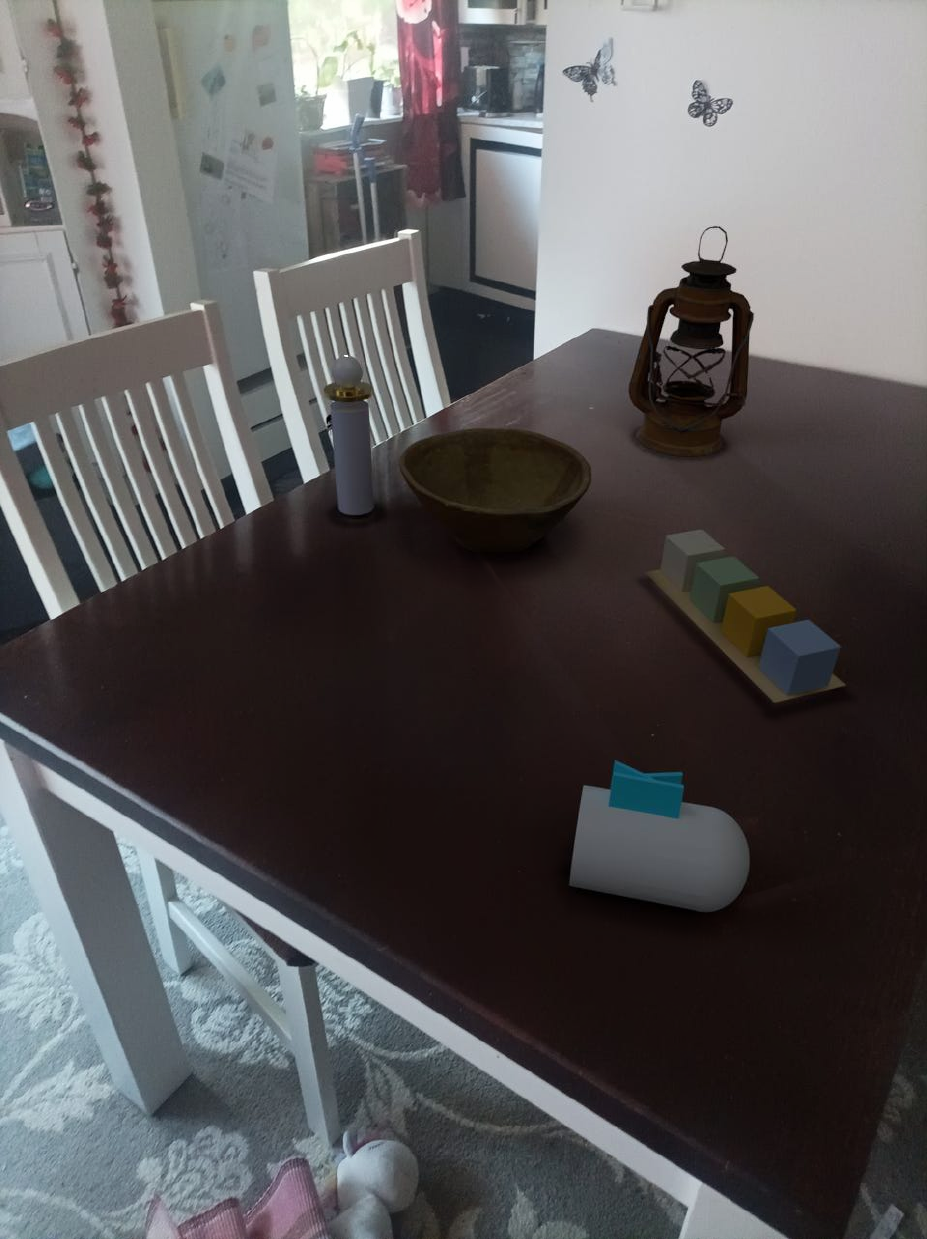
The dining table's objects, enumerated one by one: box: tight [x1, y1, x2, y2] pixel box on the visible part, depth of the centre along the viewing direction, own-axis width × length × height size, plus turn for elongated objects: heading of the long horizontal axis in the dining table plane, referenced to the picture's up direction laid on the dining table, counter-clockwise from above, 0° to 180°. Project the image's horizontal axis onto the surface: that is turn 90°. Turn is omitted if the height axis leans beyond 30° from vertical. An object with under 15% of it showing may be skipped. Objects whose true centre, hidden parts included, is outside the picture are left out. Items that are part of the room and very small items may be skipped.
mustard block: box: [721, 585, 798, 657], centre depth 86 cm, size 5×5×5 cm
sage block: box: [690, 556, 760, 623], centre depth 91 cm, size 5×5×5 cm
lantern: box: [628, 225, 755, 458], centre depth 123 cm, size 17×13×30 cm
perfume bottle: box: [323, 355, 375, 516], centre depth 105 cm, size 6×6×20 cm
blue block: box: [758, 619, 842, 696], centre depth 81 cm, size 5×5×5 cm
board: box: [644, 568, 847, 704], centre depth 90 cm, size 8×24×1 cm, turn 19°
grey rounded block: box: [568, 759, 751, 913], centre depth 64 cm, size 12×9×12 cm
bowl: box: [398, 427, 592, 555], centre depth 103 cm, size 22×23×10 cm
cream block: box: [660, 529, 726, 592], centre depth 95 cm, size 5×5×5 cm
